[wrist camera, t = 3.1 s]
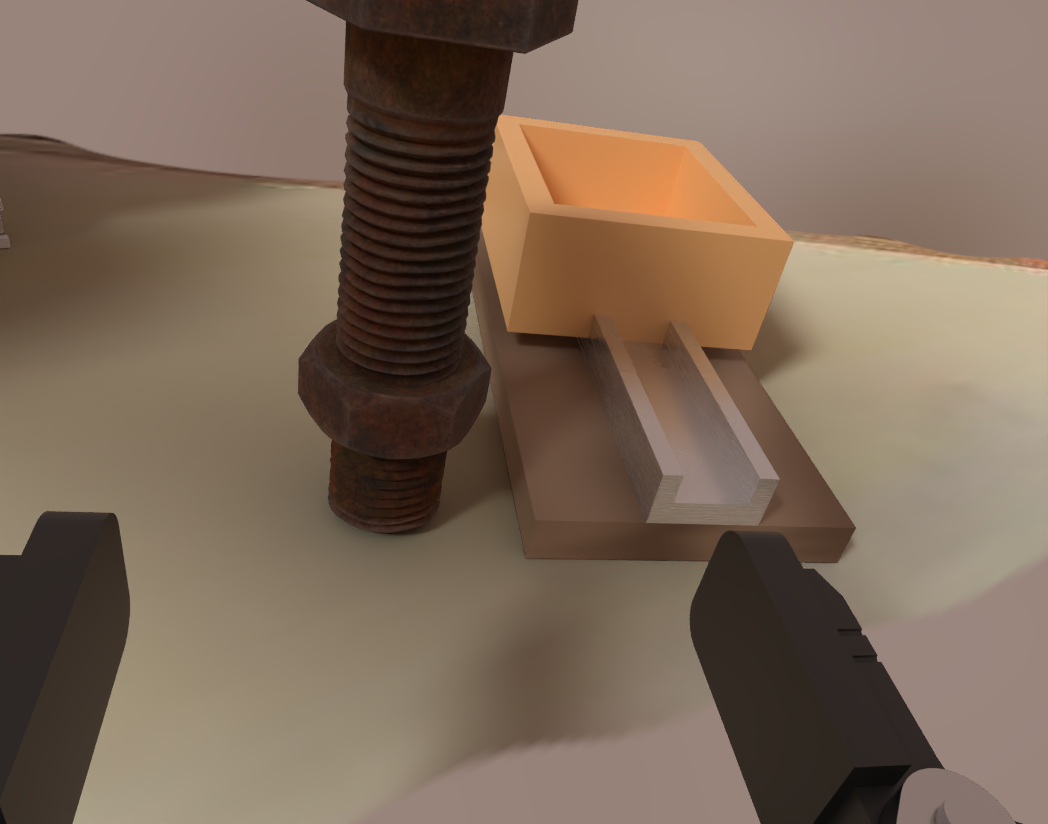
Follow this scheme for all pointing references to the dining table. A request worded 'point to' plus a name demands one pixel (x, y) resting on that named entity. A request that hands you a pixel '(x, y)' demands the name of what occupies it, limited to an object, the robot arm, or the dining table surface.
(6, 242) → the circuit breaker
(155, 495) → the dining table surface
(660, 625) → the dining table surface
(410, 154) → the bolt
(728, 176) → the orange open box
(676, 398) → the rail
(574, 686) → the dining table surface
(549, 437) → the rail board
